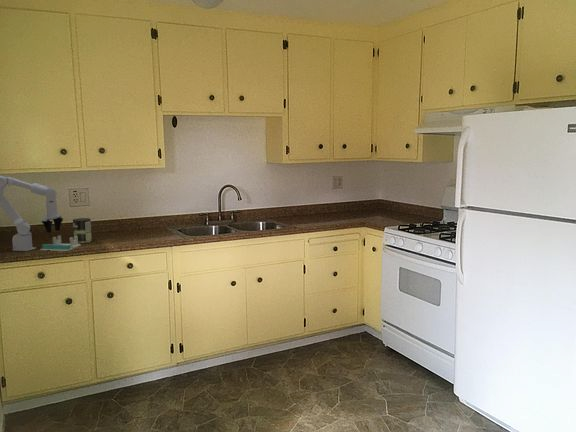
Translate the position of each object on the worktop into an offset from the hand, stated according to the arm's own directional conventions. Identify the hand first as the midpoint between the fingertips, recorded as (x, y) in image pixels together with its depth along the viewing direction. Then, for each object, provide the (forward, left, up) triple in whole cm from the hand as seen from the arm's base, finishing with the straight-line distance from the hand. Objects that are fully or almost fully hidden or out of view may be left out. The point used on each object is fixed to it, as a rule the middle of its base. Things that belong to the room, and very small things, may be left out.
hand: (53, 231), depth 267 cm
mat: (+6, -6, -9) cm, 12 cm away
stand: (+6, +2, -9) cm, 11 cm away
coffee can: (+6, +19, -10) cm, 22 cm away
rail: (+5, -6, -8) cm, 11 cm away
